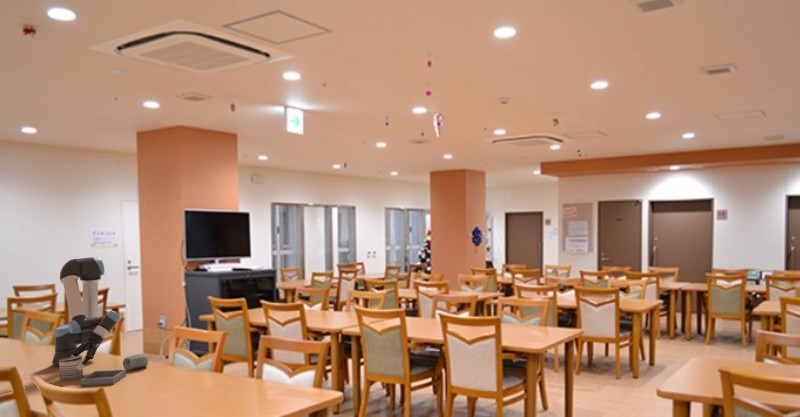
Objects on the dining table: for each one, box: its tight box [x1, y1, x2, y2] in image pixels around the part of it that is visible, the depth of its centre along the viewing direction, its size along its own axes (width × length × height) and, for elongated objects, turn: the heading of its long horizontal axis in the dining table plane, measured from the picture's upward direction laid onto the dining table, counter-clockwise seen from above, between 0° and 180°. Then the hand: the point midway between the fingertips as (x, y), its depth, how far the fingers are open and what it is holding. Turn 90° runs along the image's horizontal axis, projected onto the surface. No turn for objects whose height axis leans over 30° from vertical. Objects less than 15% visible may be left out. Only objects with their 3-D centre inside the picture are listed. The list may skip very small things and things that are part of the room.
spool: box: [122, 353, 149, 372], centre depth 339 cm, size 14×10×10 cm
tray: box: [80, 369, 127, 387], centre depth 316 cm, size 17×17×4 cm
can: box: [58, 355, 84, 383], centre depth 323 cm, size 11×11×12 cm
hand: (72, 367), depth 323 cm, fingers open, 13 cm apart
